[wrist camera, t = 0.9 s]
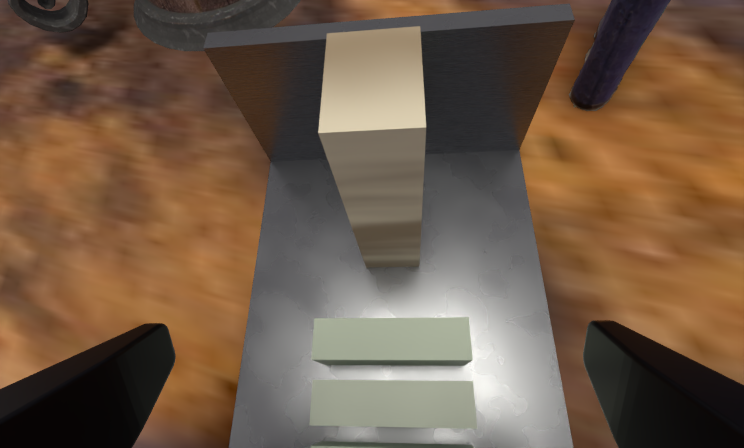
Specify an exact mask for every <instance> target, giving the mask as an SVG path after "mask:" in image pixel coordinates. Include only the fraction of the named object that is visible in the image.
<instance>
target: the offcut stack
mask: <svg viewBox="0 0 744 448" xmlns="http://www.w3.org/2000/svg"><path fill="white" fill-rule="evenodd" d="M311 360H313V361H316V362H319V363H321V364H324V365H395V366H465V365H466V364H468V363H469V362H471V361H472V360H473V357H472V346H471V336H470V325H469V317H451V318H314V330H313V343H312V357H311ZM309 425H312V426H362V427H412V428H462V429H477V419H476V409H475V398H474V387H473V381H403V380H313V381H312V395H311V409H310V423H309ZM311 448H474V447H473V446H472V445H461V444H419V443H377V442H335V441H320V442H318V443H316V444H314V445H311Z"/></svg>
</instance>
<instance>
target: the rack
mask: <svg viewBox="0 0 744 448" xmlns="http://www.w3.org/2000/svg"><path fill="white" fill-rule="evenodd" d="M574 20H575V19H574V16H573V13H572V10H571V6H570V4H560V5H548V6H535V7H523V8H510V9H498V10H486V11H473V12H461V13H448V14H436V15H423V16H411V17H399V18H386V19H374V20H361V21H349V22H337V23H324V24H312V25H299V26H287V27H275V28H262V29H250V30H237V31H225V32H213V33H207V37H206V40H205V44H204V48H203V49H204V50H205V52H206V54H207V55H208V57H209V59H210V60H211V62H212V64H213V65H214V67H215V69H216V70H217V72H218V74H219V76H220V77H221V79H222V81H223V82H224V84H225V86H226V87H227V89H228V91H229V92H230V94H231V96H232V97H233V99H234V101H235V102H236V104H237V106H238V107H239V109H240V111H241V112H242V114H243V116H244V117H245V119H246V121H247V122H248V124H249V126H250V127H251V129H252V131H253V132H254V134H255V136H256V137H257V139H258V141H259V142H260V144H261V146H262V148H263V149H264V151H265V153H266V154H267V156H268V158H269V159H270V161H271V164H270V171H269V178H268V185H267V191H266V198H265V205H264V212H263V219H262V225H261V232H260V239H259V246H258V253H257V259H256V266H255V273H254V280H253V287H252V293H251V300H250V307H249V314H248V321H247V327H246V334H245V341H244V348H243V355H242V361H241V368H240V375H239V382H238V389H237V395H236V402H235V409H234V416H233V423H232V430H231V436H230V443H229V448H311V445H314V444H316V443H318V442H320V441H335V442H377V443H419V444H461V445H472V446H473V447H474V448H573V443H572V437H571V432H570V426H569V421H568V416H567V410H566V405H565V399H564V394H563V388H562V383H561V377H560V372H559V366H558V361H557V355H556V350H555V344H554V339H553V333H552V328H551V322H550V317H549V311H548V306H547V300H546V295H545V289H544V284H543V278H542V273H541V267H540V262H539V256H538V251H537V245H536V240H535V234H534V229H533V223H532V218H531V212H530V207H529V201H528V196H527V190H526V185H525V179H524V174H523V168H522V163H521V157H520V152H519V149H520V147H521V144H522V142H523V140H524V137H525V135H526V133H527V130H528V128H529V126H530V123H531V121H532V119H533V116H534V114H535V112H536V109H537V107H538V105H539V102H540V100H541V98H542V95H543V93H544V91H545V88H546V86H547V84H548V81H549V79H550V77H551V74H552V72H553V69H554V67H555V65H556V62H557V60H558V58H559V55H560V53H561V51H562V48H563V46H564V44H565V41H566V39H567V37H568V34H569V32H570V30H571V27H572V25H573V23H574ZM416 26H420V32H421V48H422V65H423V82H424V98H425V115H426V142H425V162H424V183H423V203H422V223H421V243H420V263H419V266H418V267H367V268H366V266H365V263H364V261H363V258H362V255H361V252H360V249H359V246H358V244H357V241H356V238H355V235H354V232H353V230H352V227H351V224H350V221H349V218H348V216H347V213H346V210H345V207H344V204H343V201H342V199H341V196H340V193H339V190H338V187H337V185H336V182H335V179H334V176H333V173H332V170H331V168H330V165H329V162H328V159H327V156H326V154H325V151H324V148H323V145H322V142H321V140H320V137H319V134H318V130H319V119H320V107H321V96H322V84H323V73H324V62H325V50H326V39H327V33H339V32H352V31H365V30H377V29H390V28H403V27H416ZM451 317H469V325H470V336H471V346H472V357H473V360H472V361H471V362H469V363H468V364H466V365H465V366H395V365H324V364H321V363H319V362H316V361H313V360H311V357H312V343H313V330H314V318H451ZM313 380H403V381H473V387H474V398H475V409H476V419H477V429H462V428H412V427H362V426H312V425H309V423H310V409H311V395H312V381H313Z"/></svg>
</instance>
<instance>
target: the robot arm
mask: <svg viewBox="0 0 744 448" xmlns="http://www.w3.org/2000/svg"><path fill="white" fill-rule="evenodd" d="M583 361H584V365H585V368H586V371H587V373H588V376H589V378H590V381H591V383H592V385H593V388H594V390H595V393H596V395H597V398H598V400H599V403H600V405H601V408H602V410H603V413H604V415H605V418H606V420H607V423H608V425H609V427H610V430H611V432H612V434H613V437H614V439H615V441H616V443H617V445H618V447H619V448H744V385H742V384H740V383H738V382H736V381H734V380H732V379H730V378H728V377H726V376H724V375H722V374H720V373H718V372H716V371H714V370H712V369H710V368H708V367H706V366H704V365H702V364H700V363H698V362H696V361H694V360H692V359H690V358H688V357H686V356H684V355H681V354H679V353H677V352H675V351H673V350H671V349H669V348H667V347H665V346H663V345H661V344H659V343H657V342H655V341H653V340H651V339H649V338H647V337H645V336H643V335H641V334H639V333H637V332H635V331H633V330H631V329H629V328H627V327H625V326H623V325H621V324H619V323H617V322H614V321H610V320H604V321H591V322H590V323H589V325H588V327H587V333H586V339H585V346H584V352H583ZM174 363H175V351H174V347H173V344H172V340H171V337H170V334H169V330H168V328H167V326H166V325H164V324H162V323H149V324H144V325H141V326H139V327H137V328H135V329H132V330H130V331H128V332H126V333H123V334H121V335H119V336H117V337H115V338H112V339H110V340H108V341H106V342H104V343H101V344H99V345H97V346H95V347H92V348H90V349H88V350H86V351H84V352H81V353H79V354H77V355H75V356H73V357H70V358H68V359H66V360H64V361H62V362H59V363H57V364H55V365H53V366H50V367H48V368H46V369H44V370H42V371H39V372H37V373H35V374H33V375H31V376H28V377H26V378H24V379H22V380H20V381H17V382H15V383H13V384H11V385H8V386H6V387H4V388H2V389H0V448H132V447H133V445H134V443H135V442H136V440H137V438H138V436H139V435H140V433H141V431H142V429H143V427H144V425H145V423H146V421H147V419H148V417H149V415H150V413H151V411H152V409H153V407H154V405H155V403H156V401H157V399H158V397H159V395H160V393H161V391H162V389H163V386H164V384H165V382H166V380H167V378H168V376H169V374H170V372H171V370H172V368H173V366H174Z"/></svg>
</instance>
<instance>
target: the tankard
mask: <svg viewBox="0 0 744 448" xmlns="http://www.w3.org/2000/svg"><path fill="white" fill-rule="evenodd" d="M299 2H300V0H135V3H134V18H135V21H136V24H137V27H138V28H139V29H140V30H141V32H142V33H143V34H144V36H146V37H147V38H149V39H150V40H151V41H153V42H154V43H156V44H159V45H162V46H164V47H167V48H170V49H176V50H182V51H205V50H204V49H203V48H204V44H205V40H206V37H207V33H213V32H225V31H237V30H250V29H262V28H272V27H274V26H275V25H276V24H278V23H279V22H280V21H281V20H283V19H284V18H285V17H286V16H288V15H289V14H290V12H291V11H292V10H293V9H294V8H295V7H296V6H297V4H298V3H299ZM8 4H9V5H10V7H11V8H12V9H13V10H14V12H15V13H16V14H17V15H18V16H19V17H21V18H22V19H23V20H25V21H26V22H28V23H29V24H31V25H33V26H36V27H38V28H41V29H43V30H46V31H52V32H59V33H61V32H68V31H72V30H74V29H75V28H77V27H79V26H80V25H81V24H82V22H83V21H84V20H85V18H86V17H87V11H88V0H69V2H68V3H67V5H66V6H65V7H63V8H62V9H60V10H56V11H47V10H42V9H39V8H37V7H35V6H32V5H30V4H29V3H28V2H26V1H25V0H8ZM38 4H39V5H41V6H42V7H44V8H45V9H52V8H53V7H54V6H55V0H38Z"/></svg>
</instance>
